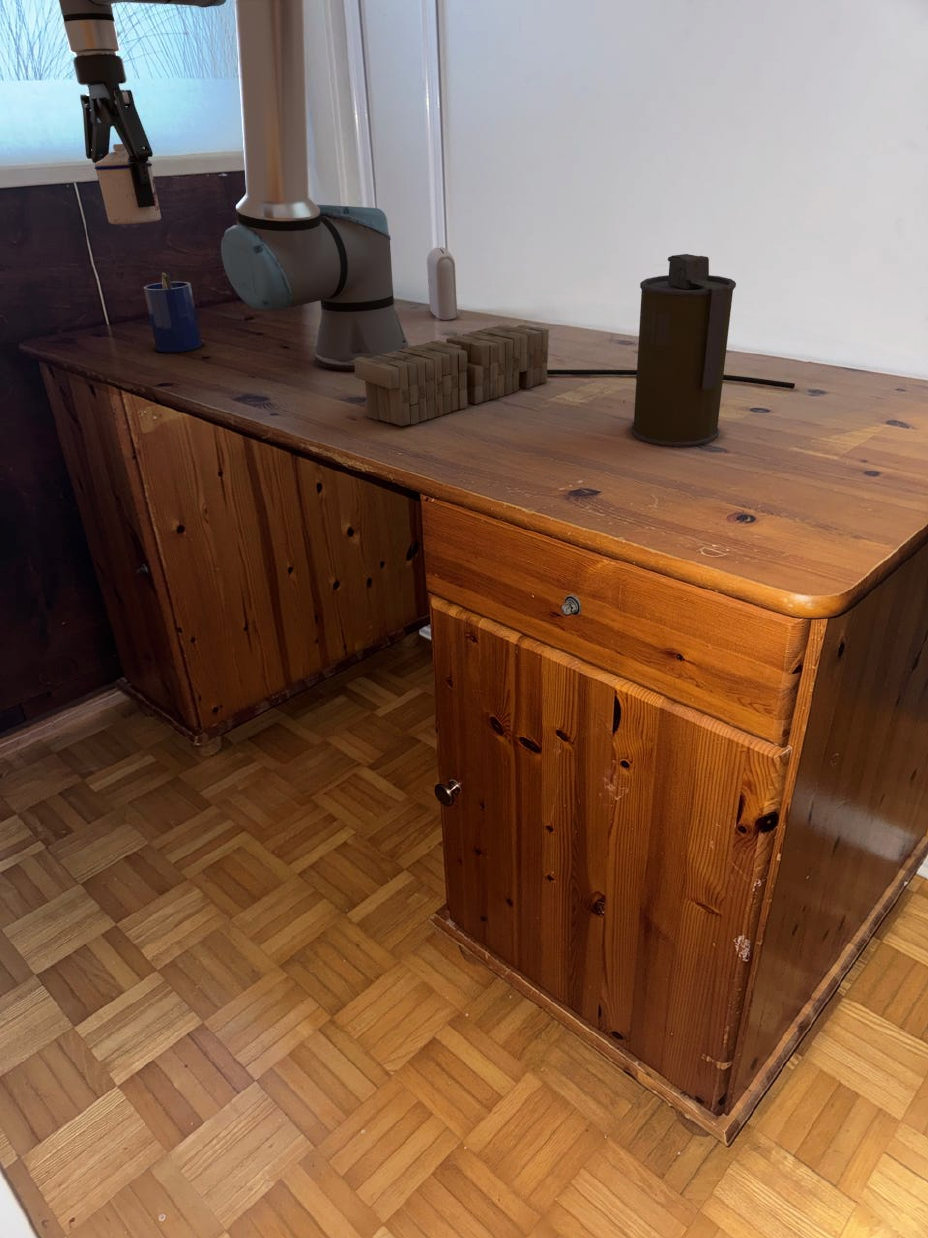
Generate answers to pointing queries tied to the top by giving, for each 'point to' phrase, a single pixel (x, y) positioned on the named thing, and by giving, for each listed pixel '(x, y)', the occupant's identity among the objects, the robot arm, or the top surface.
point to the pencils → (166, 281)
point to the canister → (681, 354)
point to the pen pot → (173, 317)
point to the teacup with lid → (123, 190)
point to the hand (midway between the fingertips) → (129, 205)
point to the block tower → (453, 372)
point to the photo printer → (442, 284)
